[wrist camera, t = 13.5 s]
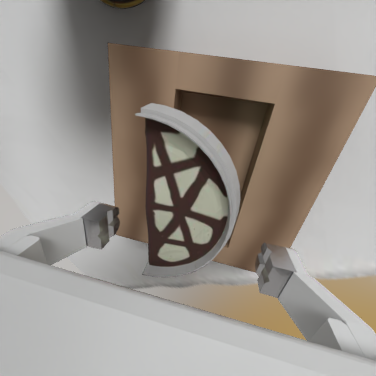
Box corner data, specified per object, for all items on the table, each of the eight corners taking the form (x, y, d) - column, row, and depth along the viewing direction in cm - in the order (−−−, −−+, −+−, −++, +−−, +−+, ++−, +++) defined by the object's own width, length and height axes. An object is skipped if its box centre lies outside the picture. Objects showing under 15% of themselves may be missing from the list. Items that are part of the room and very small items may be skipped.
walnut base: (135, 212, 28) (116, 234, 23) (138, 60, 19) (107, 42, 14) (265, 244, 25) (274, 277, 20) (335, 86, 17) (381, 76, 12)
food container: (224, 220, 21) (223, 299, 12) (176, 211, 22) (142, 279, 13) (246, 111, 16) (270, 113, 7) (182, 105, 17) (134, 101, 8)
